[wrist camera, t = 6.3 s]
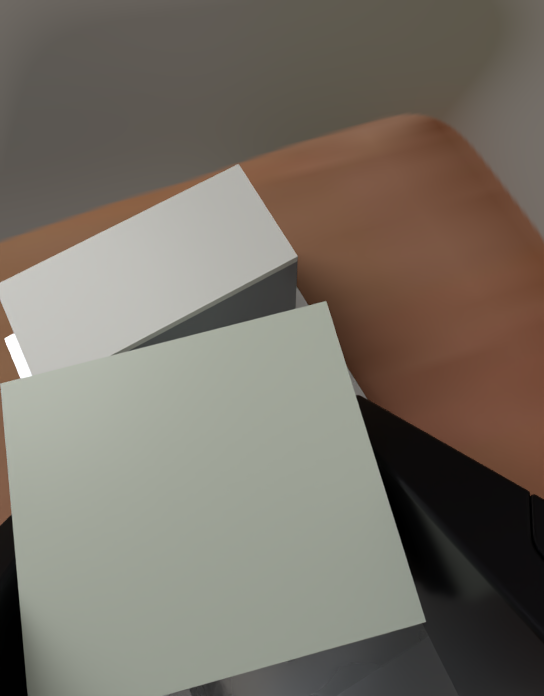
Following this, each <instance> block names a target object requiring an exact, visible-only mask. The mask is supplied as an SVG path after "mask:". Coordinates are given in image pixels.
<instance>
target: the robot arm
mask: <svg viewBox="0 0 544 696" xmlns="http://www.w3.org/2000/svg"><path fill="white" fill-rule="evenodd" d="M356 398H357V401H358V405H359V408H360V411H361V414H362V418H363V421H364V424H365V427H366V430H367V434H368V437H369V440H370V443H371V446H372V450H373V453H374V456H375V459H376V462H377V466H378V469H379V472H380V475H381V479H382V482H383V485H384V488H385V491H386V495H387V498H388V501H389V504H390V507H391V511H392V514H393V517H394V520H395V524H396V527H397V530H398V533H399V536H400V540H401V543H402V546H403V549H404V552H405V556H406V559H407V562H408V565H409V569H410V572H411V575H412V578H413V581H414V585H415V588H416V591H417V594H418V597H419V601H420V604H421V607H422V610H423V613H424V617H425V620H426V622H424V623H422V624H423V626H424V628H425V630H426V632H427V634H428V636H429V638H430V640H431V642H432V644H433V646H434V648H435V650H436V652H437V654H438V656H439V658H440V660H441V662H442V664H443V666H444V668H445V670H446V672H447V674H448V676H449V678H450V680H451V682H452V684H453V686H454V688H455V690H456V692H457V694H458V696H544V499H542V498H540V497H539V496H537V495H535V494H533V495H531V496H530V492H529V491H528V490H526V489H524V488H522V487H521V486H519V485H517V484H515V483H514V482H512V481H510V480H508V479H507V478H505V477H503V476H501V475H500V474H498V473H496V472H494V471H493V470H491V469H489V468H487V467H486V466H484V465H482V464H480V463H479V462H477V461H475V460H473V459H471V458H470V457H468V456H466V455H464V454H463V453H461V452H459V451H457V450H456V449H454V448H452V447H450V446H449V445H447V444H445V443H443V442H442V441H440V440H438V439H436V438H435V437H433V436H431V435H429V434H428V433H426V432H424V431H422V430H420V429H419V428H417V427H415V426H413V425H412V424H410V423H408V422H406V421H405V420H403V419H401V418H399V417H398V416H396V415H394V414H392V413H391V412H389V411H387V410H385V409H384V408H382V407H380V406H378V405H377V404H375V403H373V402H371V401H369V400H368V399H366V398H364V397H362V396H360V395H356ZM0 696H28V693H27V682H26V670H25V659H24V648H23V636H22V625H21V613H20V602H19V590H18V579H17V568H16V556H15V545H14V533H13V522H12V515H11V516H10V517H9V518H8V519H7V520H6V521H5V522H4V523H3V524H2V525H1V526H0Z"/></svg>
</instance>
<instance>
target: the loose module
mask: <svg viewBox="0 0 544 696" xmlns="http://www.w3.org/2000/svg"><path fill="white" fill-rule="evenodd" d="M0 385H1V396H2V408H3V419H4V430H5V442H6V453H7V465H8V476H9V488H10V499H11V510H12V522H13V533H14V545H15V556H16V568H17V579H18V590H19V602H20V613H21V625H22V636H23V648H24V659H25V670H26V682H27V693H28V696H164V695H167V694H171V693H175V692H178V691H182V690H185V689H189V688H192V687H196V686H200V685H203V684H207V683H210V682H214V681H217V680H221V679H225V678H228V677H232V676H235V675H239V674H242V673H246V672H249V671H253V670H257V669H260V668H264V667H267V666H271V665H274V664H278V663H282V662H285V661H289V660H292V659H296V658H299V657H303V656H307V655H310V654H314V653H317V652H321V651H324V650H328V649H332V648H335V647H339V646H342V645H346V644H349V643H353V642H357V641H360V640H364V639H367V638H371V637H374V636H378V635H382V634H385V633H389V632H392V631H396V630H399V629H403V628H407V627H410V626H414V625H417V624H421V623H424V622H426V620H425V617H424V613H423V610H422V607H421V604H420V601H419V597H418V594H417V591H416V588H415V585H414V581H413V578H412V575H411V572H410V569H409V565H408V562H407V559H406V556H405V552H404V549H403V546H402V543H401V540H400V536H399V533H398V530H397V527H396V524H395V520H394V517H393V514H392V511H391V507H390V504H389V501H388V498H387V495H386V491H385V488H384V485H383V482H382V479H381V475H380V472H379V469H378V466H377V462H376V459H375V456H374V453H373V450H372V446H371V443H370V440H369V437H368V434H367V430H366V427H365V424H364V421H363V418H362V414H361V411H360V408H359V405H358V401H357V398H356V395H355V392H354V389H353V385H352V382H351V379H350V376H349V373H348V369H347V366H346V363H345V360H344V356H343V353H342V350H341V347H340V344H339V340H338V337H337V334H336V331H335V328H334V324H333V321H332V318H331V315H330V311H329V308H328V305H327V302H326V301H324V302H321V303H317V304H313V305H309V306H305V307H301V308H297V309H293V310H289V311H285V312H281V313H277V314H273V315H269V316H265V317H261V318H257V319H254V320H250V321H246V322H242V323H238V324H234V325H230V326H226V327H222V328H218V329H214V330H210V331H206V332H202V333H198V334H194V335H190V336H187V337H183V338H179V339H175V340H171V341H167V342H163V343H159V344H155V345H151V346H147V347H143V348H139V349H135V350H131V351H127V352H123V353H120V354H116V355H112V356H108V357H104V358H100V359H96V360H92V361H88V362H84V363H80V364H76V365H72V366H68V367H64V368H60V369H56V370H53V371H49V372H45V373H41V374H37V375H33V376H29V377H25V378H21V379H17V380H13V381H9V382H5V383H1V384H0Z"/></svg>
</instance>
